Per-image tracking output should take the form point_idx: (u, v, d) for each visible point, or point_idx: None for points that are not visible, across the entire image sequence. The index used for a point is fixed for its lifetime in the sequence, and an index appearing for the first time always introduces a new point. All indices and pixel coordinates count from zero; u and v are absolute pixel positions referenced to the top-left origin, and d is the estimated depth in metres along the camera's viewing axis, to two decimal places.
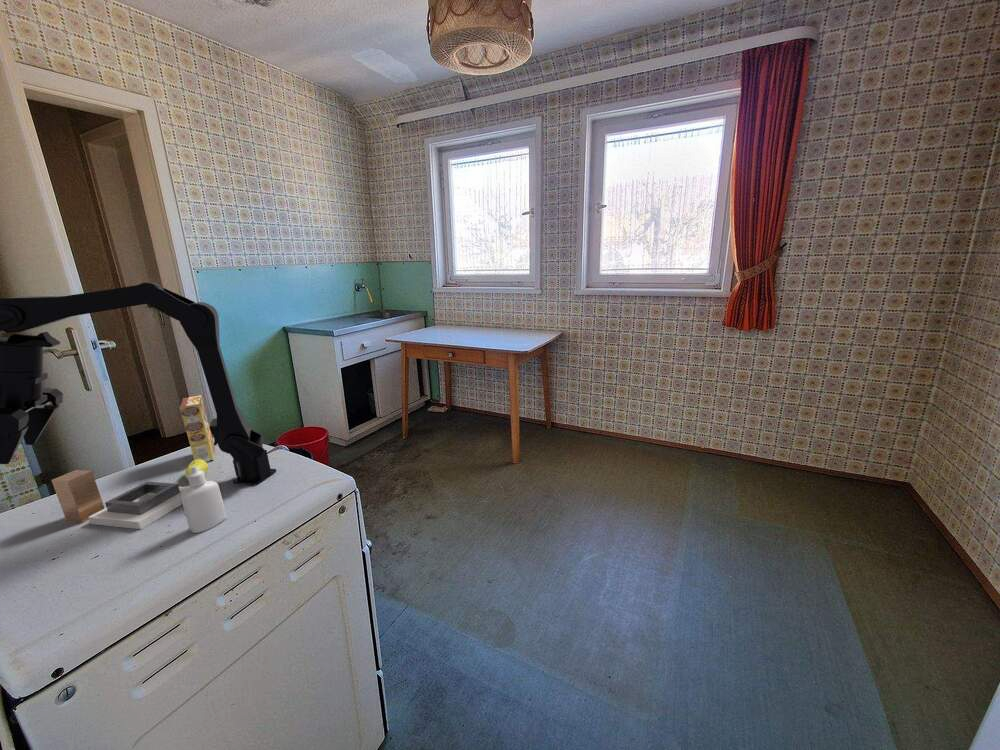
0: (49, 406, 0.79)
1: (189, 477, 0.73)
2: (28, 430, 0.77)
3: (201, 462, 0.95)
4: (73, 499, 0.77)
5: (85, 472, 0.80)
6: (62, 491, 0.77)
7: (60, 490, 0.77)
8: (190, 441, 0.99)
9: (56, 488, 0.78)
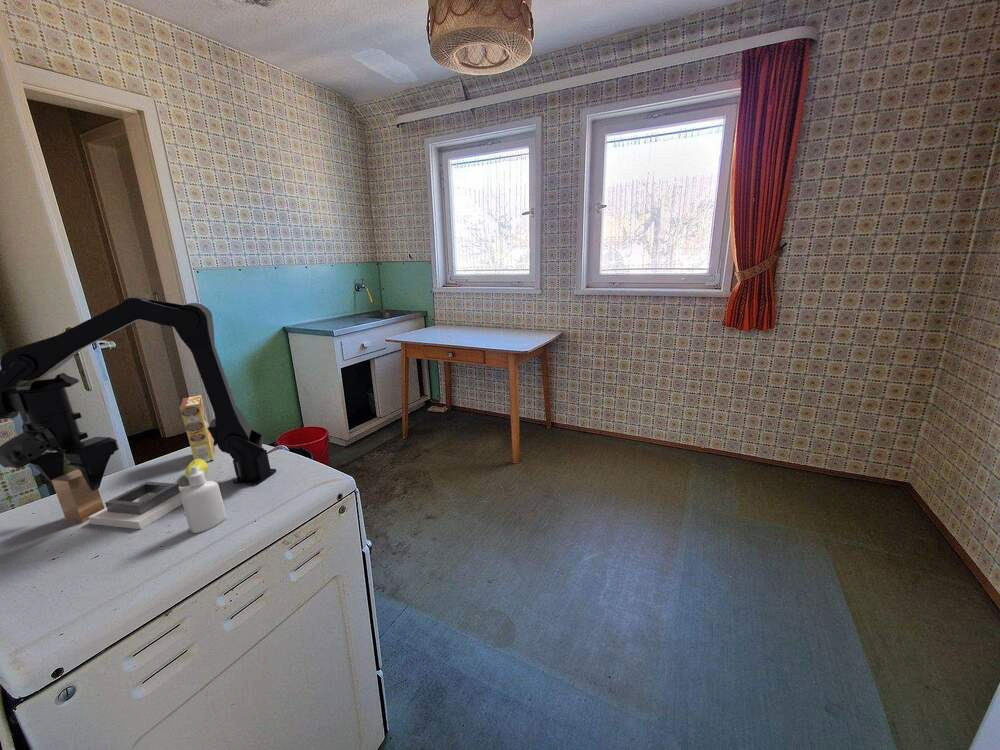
0: None
1: (189, 477, 0.73)
2: (52, 474, 0.79)
3: (201, 462, 0.95)
4: (73, 499, 0.77)
5: None
6: (62, 491, 0.77)
7: (60, 490, 0.77)
8: (190, 441, 0.99)
9: (56, 488, 0.78)
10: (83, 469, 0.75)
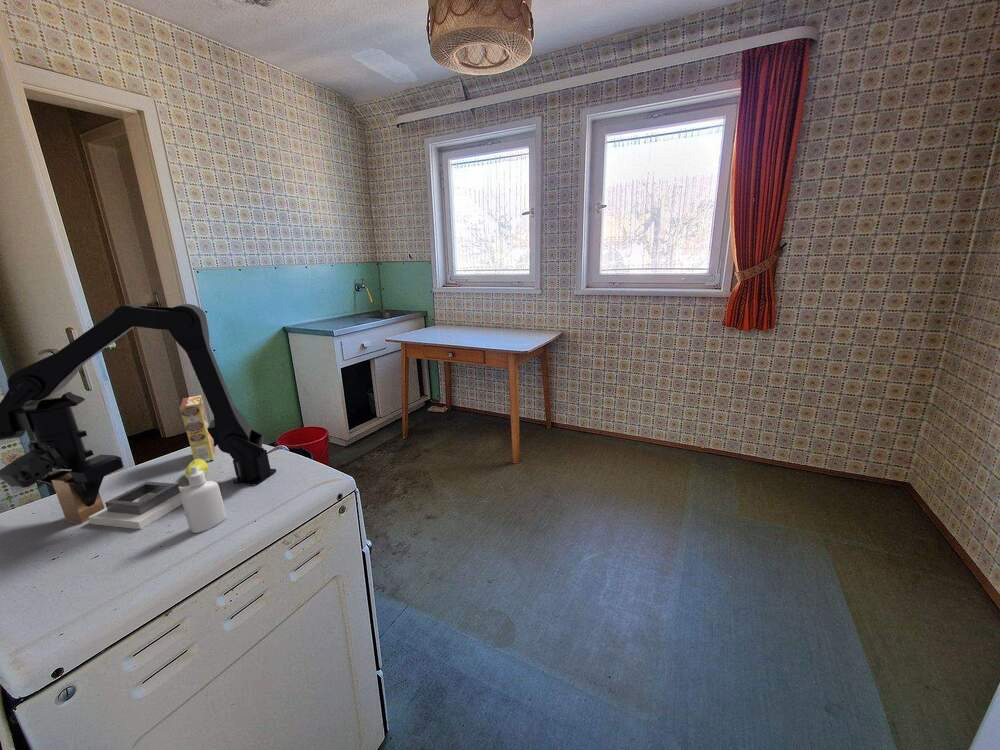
0: None
1: (189, 477, 0.73)
2: None
3: (201, 462, 0.95)
4: (73, 499, 0.77)
5: None
6: (62, 491, 0.77)
7: (60, 490, 0.77)
8: (190, 441, 0.99)
9: (56, 488, 0.78)
10: (78, 486, 0.77)
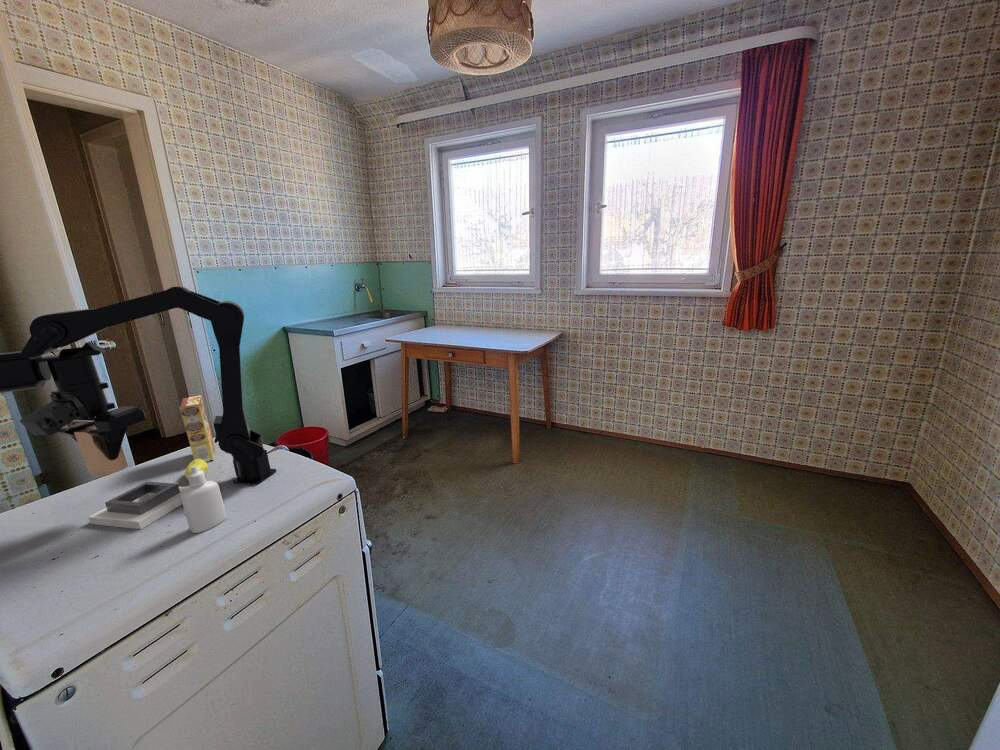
0: None
1: (189, 477, 0.73)
2: None
3: (201, 462, 0.95)
4: (96, 451, 0.76)
5: None
6: (85, 443, 0.76)
7: (83, 442, 0.76)
8: (190, 441, 0.99)
9: (79, 441, 0.76)
10: (102, 438, 0.76)
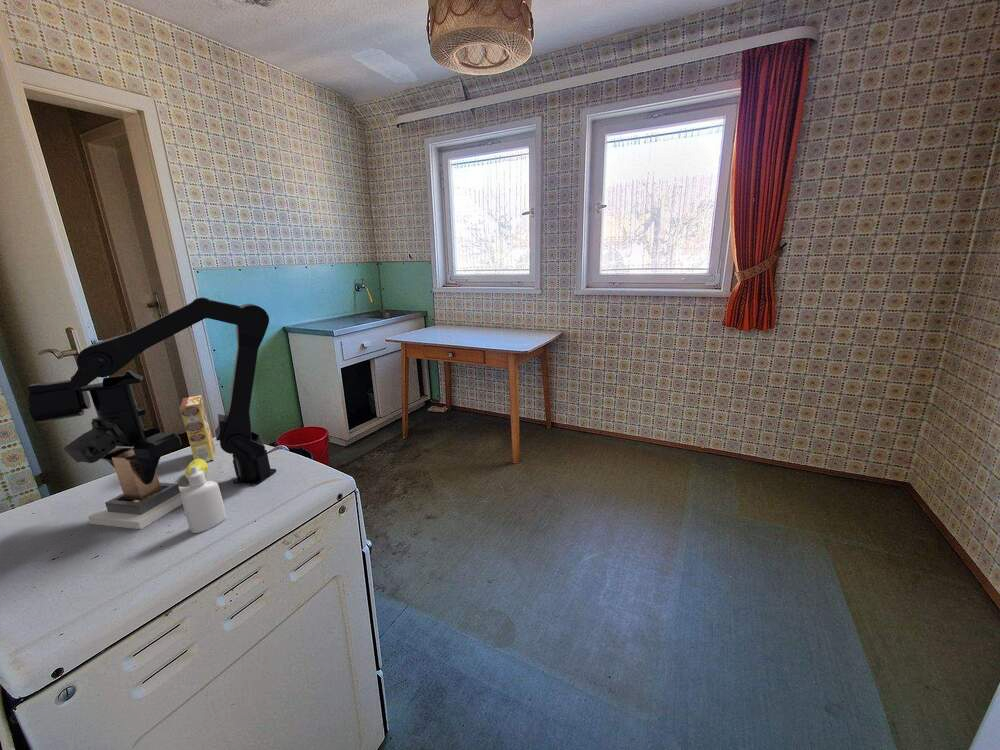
0: None
1: (189, 477, 0.73)
2: None
3: (201, 462, 0.95)
4: (133, 476, 0.78)
5: None
6: (122, 468, 0.78)
7: (120, 467, 0.78)
8: (190, 441, 0.99)
9: (116, 466, 0.79)
10: (139, 463, 0.78)
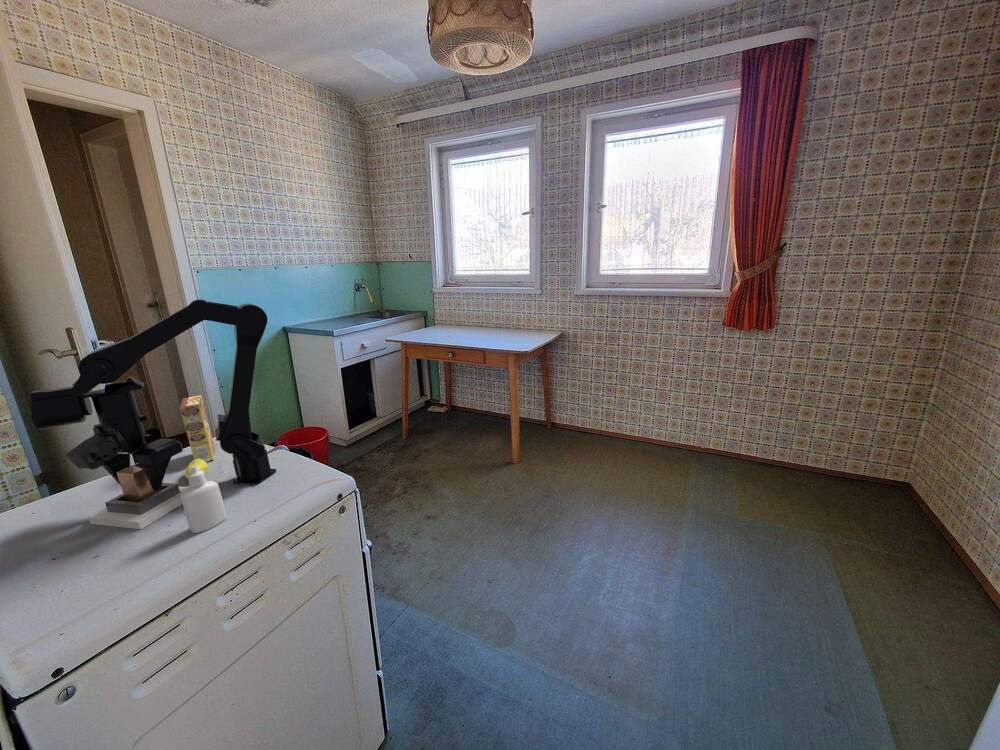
0: None
1: (189, 477, 0.73)
2: None
3: (201, 462, 0.95)
4: (137, 491, 0.79)
5: None
6: (127, 483, 0.79)
7: (125, 482, 0.79)
8: (190, 441, 0.99)
9: (121, 481, 0.79)
10: (147, 470, 0.78)
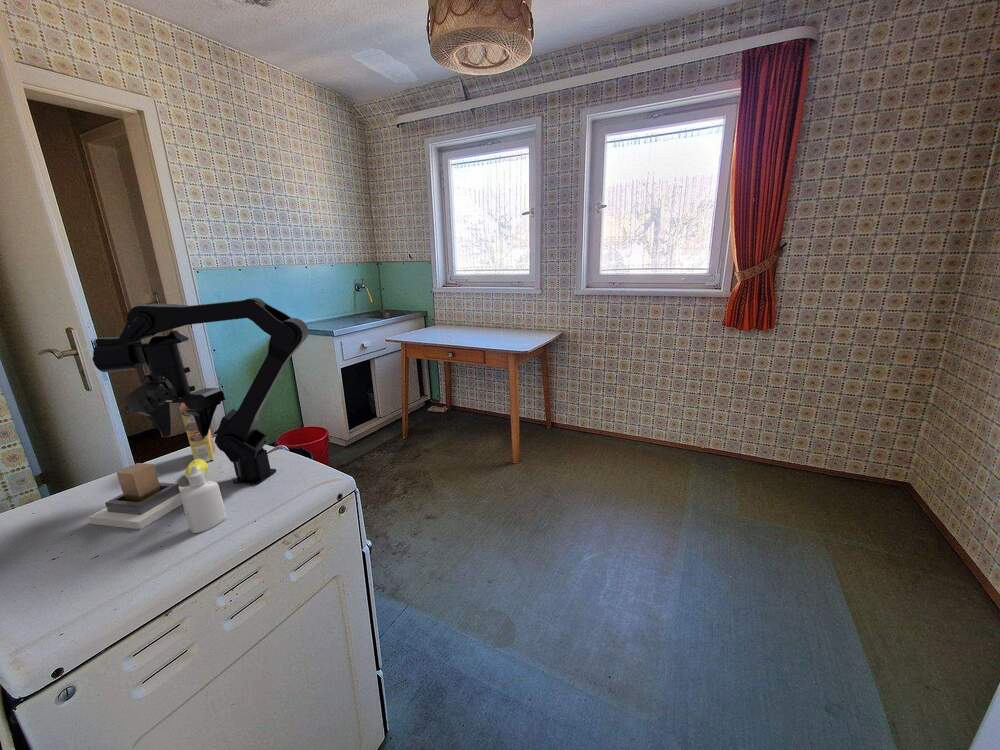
0: None
1: (189, 477, 0.73)
2: (163, 424, 0.88)
3: (201, 462, 0.95)
4: (137, 491, 0.79)
5: (147, 465, 0.81)
6: (127, 483, 0.79)
7: (125, 482, 0.79)
8: (190, 441, 0.99)
9: (121, 481, 0.79)
10: (197, 416, 0.84)
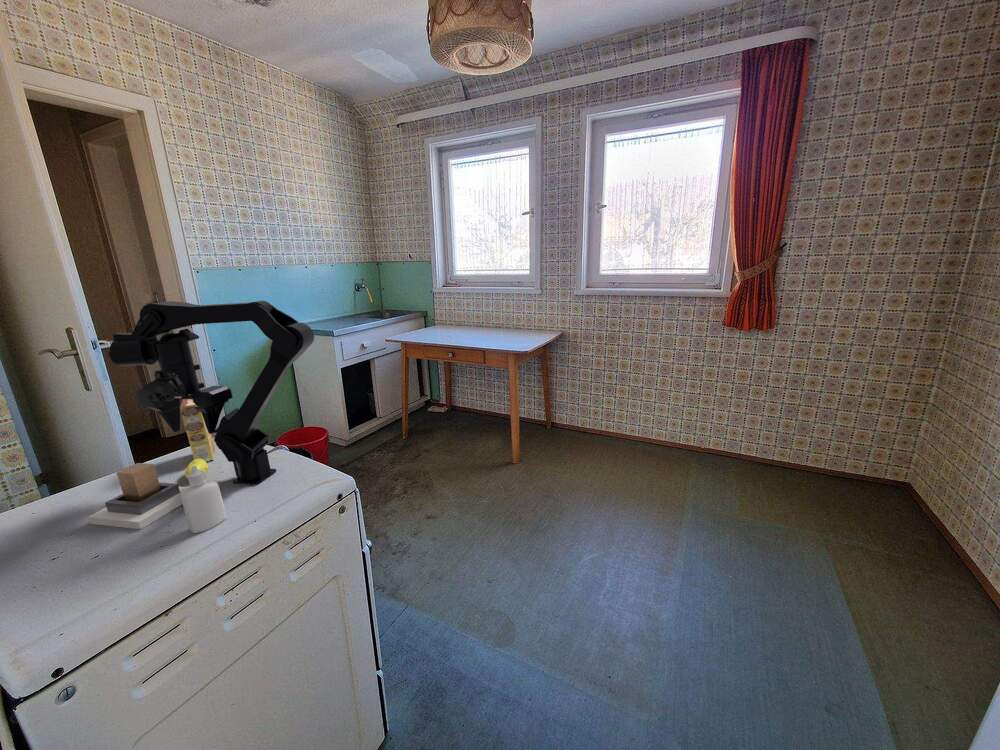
0: None
1: (189, 477, 0.73)
2: (172, 419, 0.89)
3: (201, 462, 0.95)
4: (137, 491, 0.79)
5: (147, 465, 0.81)
6: (127, 483, 0.79)
7: (125, 482, 0.79)
8: (190, 441, 0.99)
9: (121, 481, 0.79)
10: (205, 413, 0.85)
